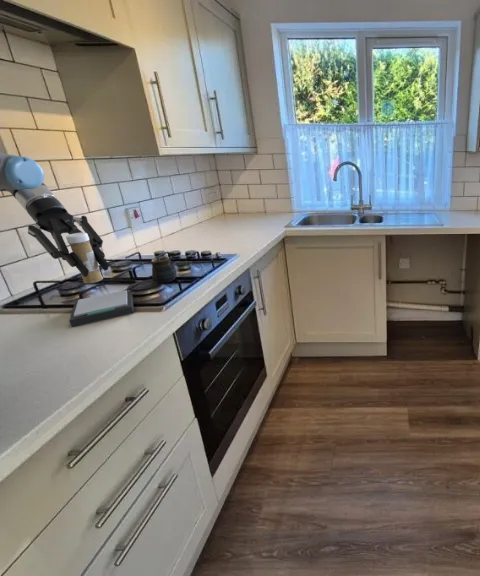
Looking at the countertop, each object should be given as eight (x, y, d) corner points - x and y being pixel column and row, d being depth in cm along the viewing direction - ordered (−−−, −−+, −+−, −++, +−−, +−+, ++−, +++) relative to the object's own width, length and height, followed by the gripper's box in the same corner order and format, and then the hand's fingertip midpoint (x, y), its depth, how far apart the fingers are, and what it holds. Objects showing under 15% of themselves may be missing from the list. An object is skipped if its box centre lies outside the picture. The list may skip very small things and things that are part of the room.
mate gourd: (177, 275, 130) (169, 248, 126) (179, 281, 124) (172, 254, 120) (154, 280, 126) (145, 252, 122) (155, 286, 120) (147, 258, 116)
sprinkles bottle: (79, 283, 100) (60, 236, 94) (93, 277, 104) (75, 232, 98) (94, 284, 99) (76, 236, 94) (107, 277, 103) (91, 232, 98)
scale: (71, 327, 96) (68, 318, 95) (77, 307, 107) (74, 299, 106) (133, 312, 103) (130, 304, 102) (133, 296, 114) (130, 288, 113)
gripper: (77, 208, 108) (127, 267, 108) (0, 221, 94) (58, 289, 93) (80, 191, 103) (132, 253, 103) (0, 201, 89) (60, 273, 89)
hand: (96, 270), depth 98 cm, fingers closed on sprinkles bottle, 4 cm apart
